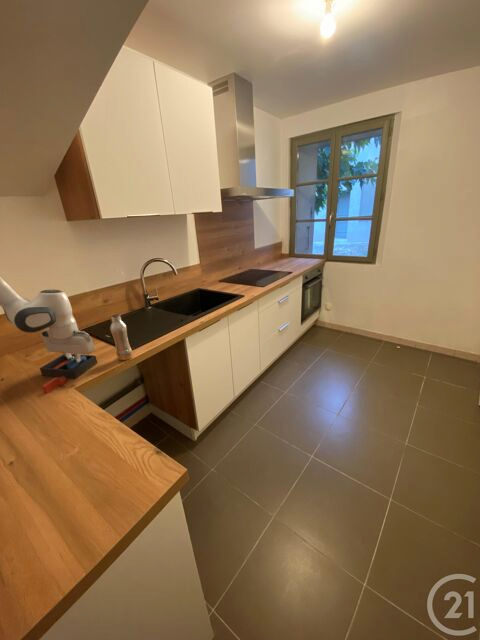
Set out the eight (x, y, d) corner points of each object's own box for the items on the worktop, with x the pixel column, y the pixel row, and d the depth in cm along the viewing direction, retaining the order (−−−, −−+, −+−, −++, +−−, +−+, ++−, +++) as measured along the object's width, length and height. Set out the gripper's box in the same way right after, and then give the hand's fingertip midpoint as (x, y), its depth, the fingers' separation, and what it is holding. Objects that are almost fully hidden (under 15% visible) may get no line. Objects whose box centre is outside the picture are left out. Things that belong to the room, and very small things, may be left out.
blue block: (73, 369, 103) (71, 363, 102) (65, 369, 104) (63, 362, 103) (88, 359, 111) (87, 353, 109) (81, 358, 111) (79, 352, 110)
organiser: (42, 375, 105) (39, 368, 104) (67, 360, 116) (64, 353, 115) (75, 379, 102) (72, 371, 100) (97, 362, 113) (95, 355, 111)
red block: (50, 393, 93) (47, 386, 92) (41, 392, 94) (38, 385, 93) (68, 380, 101) (66, 373, 100) (60, 379, 102) (58, 373, 101)
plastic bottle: (122, 363, 111) (111, 319, 104) (115, 358, 115) (104, 316, 108) (136, 357, 115) (126, 315, 108) (129, 353, 120) (119, 312, 112)
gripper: (93, 328, 101) (102, 359, 107) (50, 326, 106) (60, 356, 111) (81, 334, 96) (91, 367, 101) (36, 332, 100) (47, 363, 105)
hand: (74, 361), depth 106 cm, fingers closed on blue block
